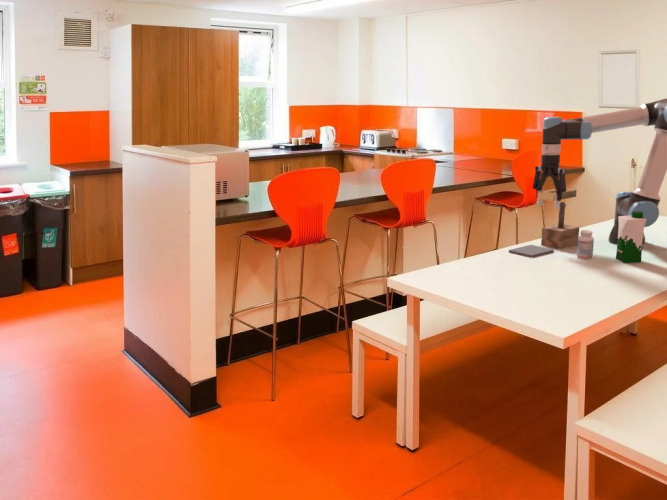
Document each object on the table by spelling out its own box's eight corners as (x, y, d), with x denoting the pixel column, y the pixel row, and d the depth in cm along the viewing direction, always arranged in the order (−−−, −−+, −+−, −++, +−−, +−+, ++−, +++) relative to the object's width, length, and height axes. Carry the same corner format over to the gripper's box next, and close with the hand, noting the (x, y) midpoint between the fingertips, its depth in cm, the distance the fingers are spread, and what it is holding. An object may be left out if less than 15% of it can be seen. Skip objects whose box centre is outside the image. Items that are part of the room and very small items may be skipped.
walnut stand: (578, 244, 300) (581, 201, 295) (560, 249, 292) (563, 205, 288) (559, 240, 308) (561, 198, 303) (541, 245, 300) (543, 202, 296)
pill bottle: (580, 255, 282) (582, 229, 280) (594, 257, 278) (597, 231, 275) (574, 257, 278) (576, 231, 275) (588, 260, 274) (590, 233, 271)
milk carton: (644, 263, 268) (649, 214, 263) (622, 264, 268) (627, 214, 263) (633, 257, 277) (637, 210, 272) (612, 258, 276) (616, 210, 271)
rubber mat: (553, 251, 288) (553, 249, 288) (531, 257, 280) (531, 255, 279) (530, 246, 298) (530, 244, 297) (508, 252, 289) (508, 250, 289)
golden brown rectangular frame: (576, 196, 294) (576, 189, 293) (553, 201, 285) (553, 194, 284) (560, 194, 300) (560, 187, 299) (537, 198, 291) (538, 192, 290)
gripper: (525, 153, 290) (523, 204, 296) (566, 156, 274) (563, 211, 279) (536, 151, 295) (533, 202, 300) (577, 154, 278) (574, 208, 284)
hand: (548, 206), depth 290 cm, fingers closed on golden brown rectangular frame, 8 cm apart
